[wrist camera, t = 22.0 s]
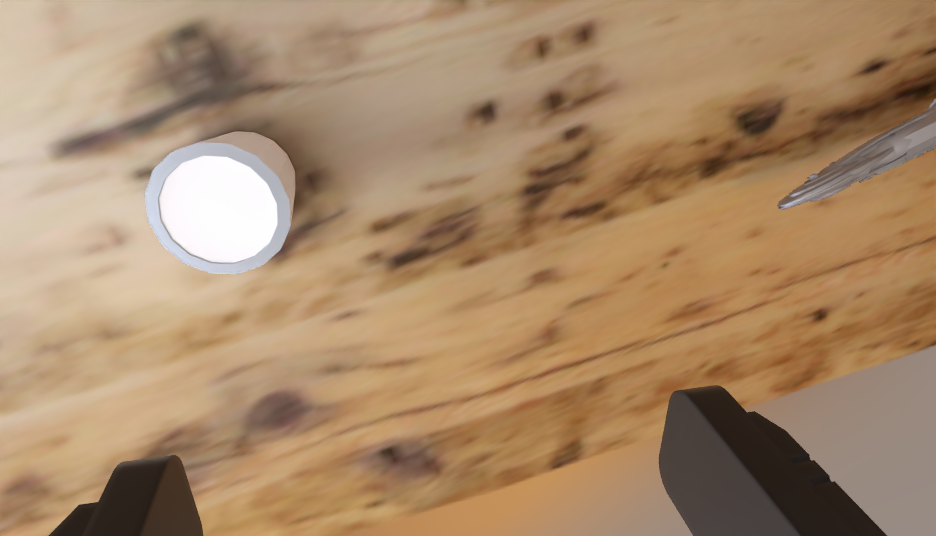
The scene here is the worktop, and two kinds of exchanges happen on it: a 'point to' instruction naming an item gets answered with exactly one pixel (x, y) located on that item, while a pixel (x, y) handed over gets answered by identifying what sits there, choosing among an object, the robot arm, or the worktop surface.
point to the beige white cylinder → (223, 202)
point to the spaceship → (870, 159)
